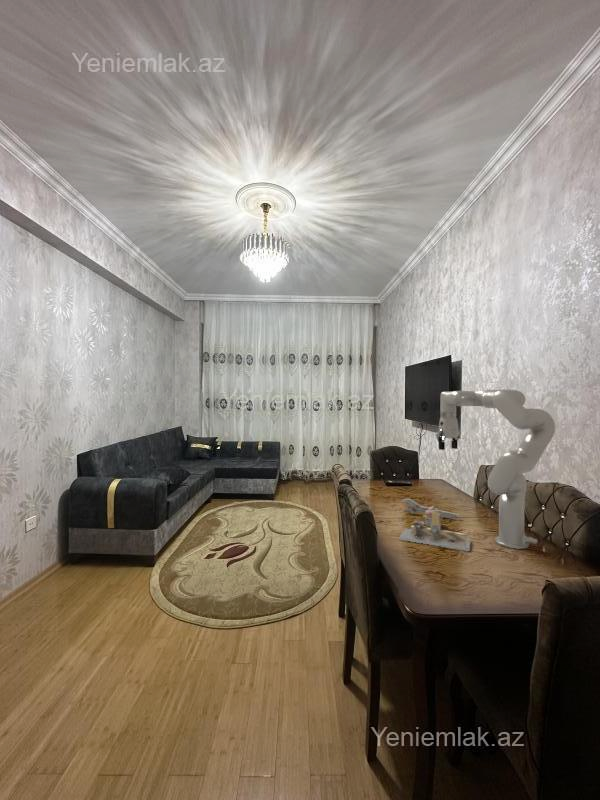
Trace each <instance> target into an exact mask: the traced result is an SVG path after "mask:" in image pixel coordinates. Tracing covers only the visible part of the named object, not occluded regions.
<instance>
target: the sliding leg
mask: <svg viewBox="0 0 600 800" xmlns="http://www.w3.org/2000/svg"><path fill="white" fill-rule="evenodd" d="M439 521H440V513H437V512H432V523H431V525H430V527H429V528H430V529H431V530H432V532H433V537H434V538H436V532H437V531H440V530H442V528H441V527H442V525H441V523H440V524H439Z"/></svg>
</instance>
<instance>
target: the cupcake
mask: <svg viewBox="0 0 600 800" xmlns="http://www.w3.org/2000/svg"><path fill="white" fill-rule="evenodd" d="M428 508H429V509H428V510H426V512H424V514H423V515H422V517H423V519H424V524H425V526H426V528H430V525H431V523H432V512H437V513H440V512H439V510H440V509H437V508H436V507H435V506H434V505H432V506H430V507H428ZM443 518H444V517H442V516H441V513H440V521H439V524H441V523H442V521H443Z"/></svg>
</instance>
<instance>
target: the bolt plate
mask: <svg viewBox="0 0 600 800" xmlns="http://www.w3.org/2000/svg"><path fill="white" fill-rule="evenodd" d="M399 541H403V542H409V541H410V543H415V542H416V543H417V544H421V543H423V544H422V545H427V544H429V545H428V546H433V545H434V547H438V546H441V547H440V548H444V547H445V548H446V549H451V550H456V551H463V552H468V551H469V552H470V551H471V550H470V548H471V538H470V537H466V541H464V540H457V539H451V538H445V537H439V536H436V538H434V537H433V536H432V535H426V534H420V533H419V536H416V533H414V532H411V528H407V527H405V528H404V529H403V530H402V532H401V533H400V536H399Z"/></svg>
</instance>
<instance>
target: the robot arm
mask: <svg viewBox="0 0 600 800" xmlns="http://www.w3.org/2000/svg"><path fill="white" fill-rule="evenodd" d="M525 403H526V396H525V394H524V393H523V392H522V391H520V390H517V389H486V390H482V391H478V390H477V391H476V390H454V391H442V392H441V393H440V402H439V404H440V406H439V407H440V412H439V413H440V418H439V423H438V431H437V432H436V433H435V437H436V440H437V442H438V450H441V451H445V450H446V449H445V447H446V446H445V444H446V443H445V440H446V439H451V447H450V448H451V449H456V450H457V449H458V441H459V439H460V436H461V432H460V431H459V422H458V418H457V407H484V408H486V409H496V410H497V411H498V412H499V413H500V414H501V415H502V416H503V417H504V418H505V419H506V420H507V421H508V422H509V424H511V426H513V427H515V428H516V429H519V430H521V431H522V430H523V431H525V430H527V431H528V430H529V432H528V433H527V434H526V435H525V436H524V437H523V439H522V441H521V443H520V445H519V446H518V447H517V448H516V449H515V450H509V451H506V452H504V453H503V454H501V455H500V456H499V458H498V459H497V461H496V462H495V465H494V467H493V468H492V470H491V472H490V473H489V475H488V478H487V486H488V489H489V490H490V491H491V493H493V494H495V495H496V496H497V495H499V499H498V535H497V536H495V537H494V542H495V543H496V544H497V545H499V546H502V547H505V548H508V547H509V549H514V548H515V549H514V550H523V549H524V550H525V549H528V548H529V545H530V544H534V545H538V539H537V538H534V537H531V536H526V534H525V499H526V492H527V489H528V488H527V486H528V483H527V479H526V476H525V475H524V474H526V473H529V472H532V471H533V470H534V469H535V468H536V466H537V464H538V462H539V461H540V459H541V458H542V455H544V452H545V450H546V449H547V447H548V446H549V444H550V442H551V441H552V439H553V438H554V435H555V432H556V424H555V420H554V418H553V416H552V415H551V414H550V413H548V411H546V410H544V409H541V408H526V407H525V406H524V405H525Z"/></svg>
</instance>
